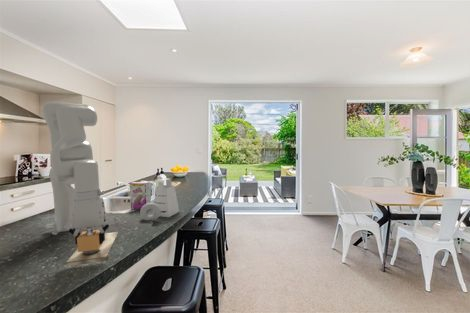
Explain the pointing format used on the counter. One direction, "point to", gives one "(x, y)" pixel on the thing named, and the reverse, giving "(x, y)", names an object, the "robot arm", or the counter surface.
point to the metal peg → (92, 252)
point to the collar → (88, 241)
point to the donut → (146, 207)
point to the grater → (166, 198)
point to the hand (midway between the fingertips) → (90, 243)
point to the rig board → (102, 253)
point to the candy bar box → (139, 194)
